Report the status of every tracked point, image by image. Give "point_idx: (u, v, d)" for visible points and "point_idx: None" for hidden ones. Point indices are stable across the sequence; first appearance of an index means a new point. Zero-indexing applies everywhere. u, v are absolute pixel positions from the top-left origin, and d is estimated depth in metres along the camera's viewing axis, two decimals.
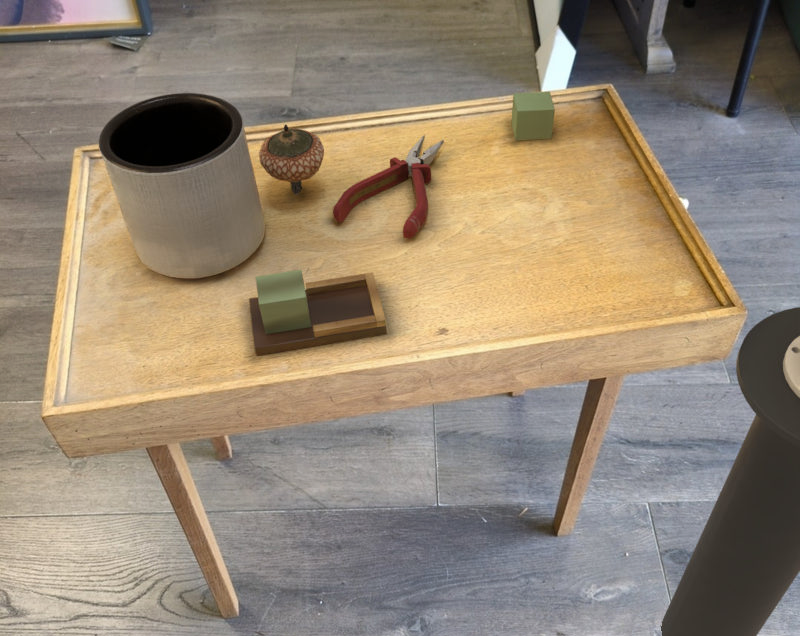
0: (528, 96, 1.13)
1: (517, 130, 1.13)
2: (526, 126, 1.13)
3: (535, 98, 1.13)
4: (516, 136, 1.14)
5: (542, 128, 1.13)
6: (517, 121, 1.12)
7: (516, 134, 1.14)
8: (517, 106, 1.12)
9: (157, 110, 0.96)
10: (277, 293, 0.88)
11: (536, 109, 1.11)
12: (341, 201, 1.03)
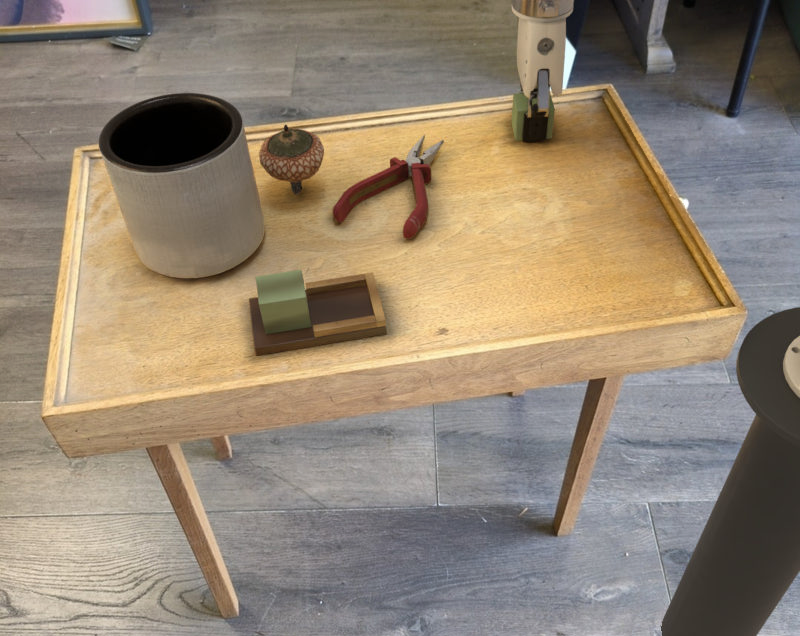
0: None
1: (517, 130, 1.13)
2: None
3: None
4: (516, 136, 1.14)
5: None
6: (517, 121, 1.12)
7: (516, 134, 1.14)
8: (517, 106, 1.12)
9: (157, 110, 0.96)
10: (277, 293, 0.88)
11: None
12: (341, 201, 1.03)
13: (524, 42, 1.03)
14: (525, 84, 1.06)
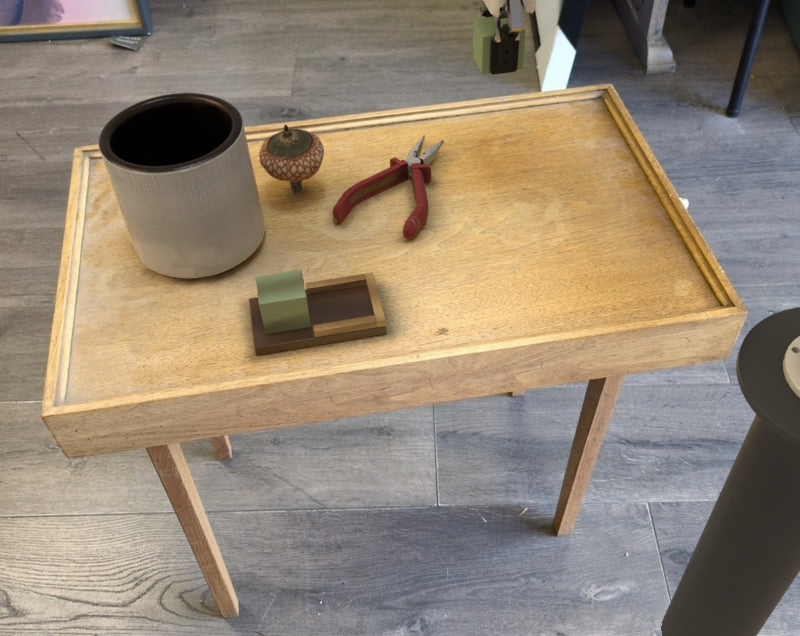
0: (491, 20, 0.96)
1: (483, 61, 0.96)
2: None
3: None
4: (482, 68, 0.97)
5: None
6: (483, 49, 0.95)
7: (482, 66, 0.97)
8: (481, 31, 0.95)
9: (157, 110, 0.96)
10: (277, 293, 0.88)
11: None
12: (341, 201, 1.03)
13: None
14: (492, 0, 0.89)
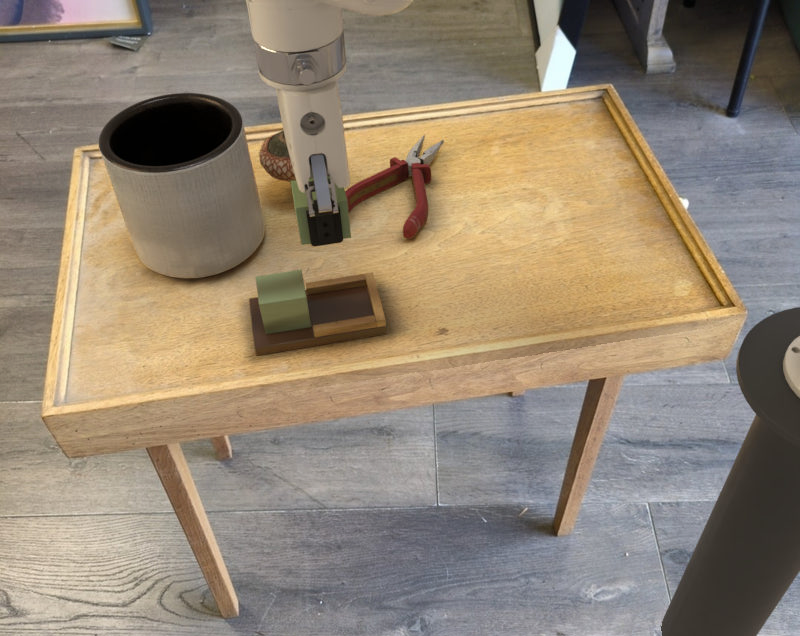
0: None
1: (301, 232, 0.81)
2: None
3: None
4: (301, 239, 0.82)
5: None
6: (298, 221, 0.80)
7: (301, 237, 0.82)
8: (295, 200, 0.80)
9: (157, 110, 0.96)
10: (277, 293, 0.88)
11: None
12: None
13: (283, 119, 0.71)
14: (296, 175, 0.74)
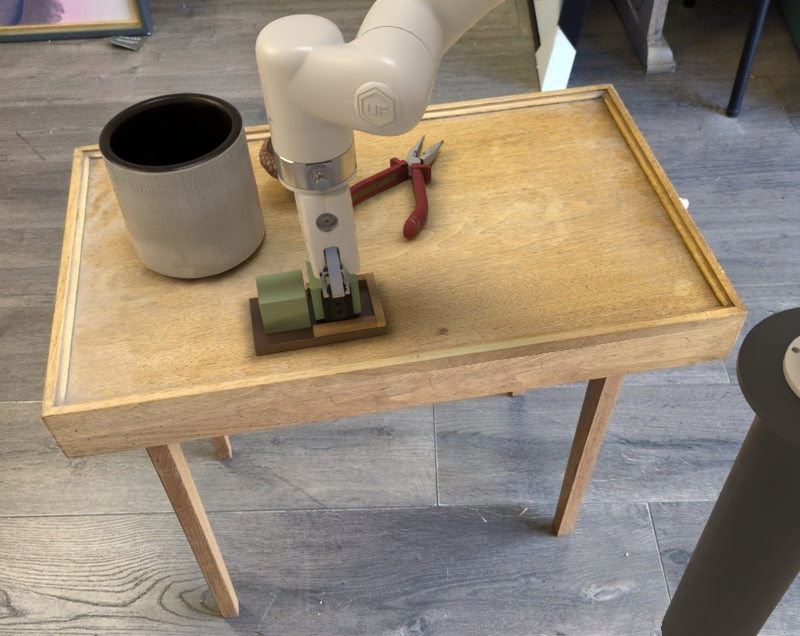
0: None
1: (316, 309, 0.89)
2: None
3: None
4: (316, 315, 0.90)
5: None
6: (313, 299, 0.88)
7: (315, 313, 0.89)
8: (310, 281, 0.87)
9: (157, 110, 0.96)
10: (277, 293, 0.88)
11: None
12: None
13: (300, 216, 0.79)
14: (311, 265, 0.82)
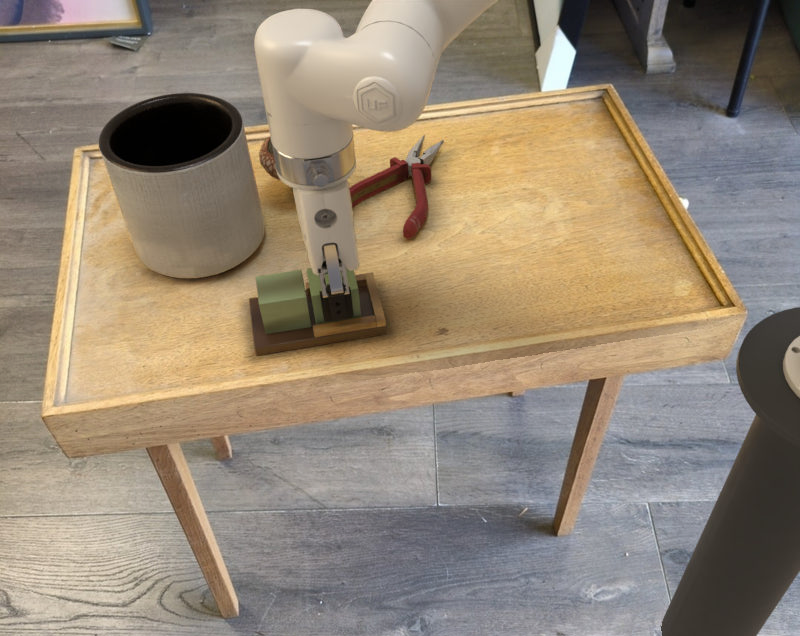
0: None
1: (316, 315, 0.90)
2: None
3: None
4: (316, 321, 0.90)
5: None
6: (314, 306, 0.89)
7: (316, 319, 0.90)
8: (311, 288, 0.88)
9: (157, 110, 0.96)
10: (277, 293, 0.88)
11: None
12: None
13: (299, 212, 0.79)
14: (310, 261, 0.81)
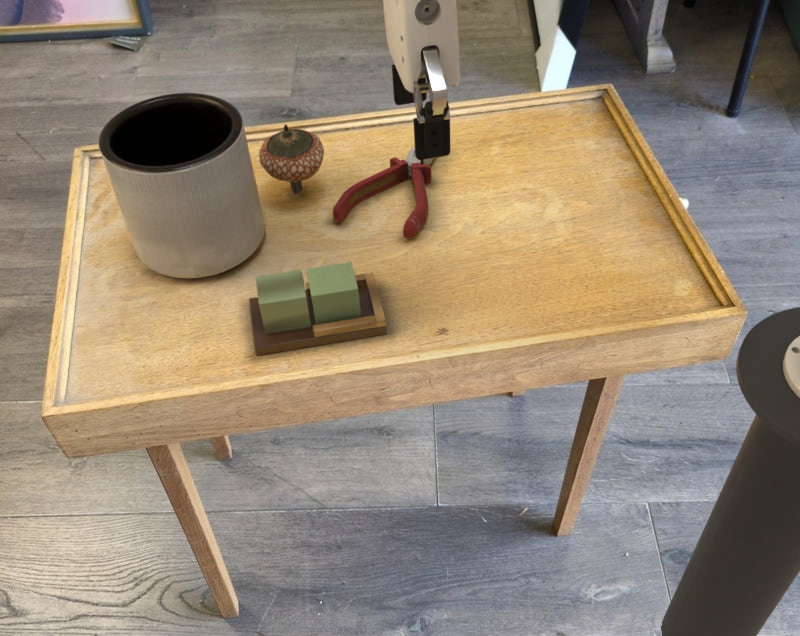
0: (325, 271, 0.90)
1: (316, 315, 0.90)
2: (326, 310, 0.89)
3: (333, 274, 0.89)
4: (316, 321, 0.90)
5: (347, 310, 0.90)
6: (314, 306, 0.89)
7: (316, 319, 0.90)
8: (311, 288, 0.88)
9: (157, 110, 0.96)
10: (277, 293, 0.88)
11: (335, 291, 0.88)
12: (341, 201, 1.03)
13: (394, 9, 0.68)
14: (405, 73, 0.70)
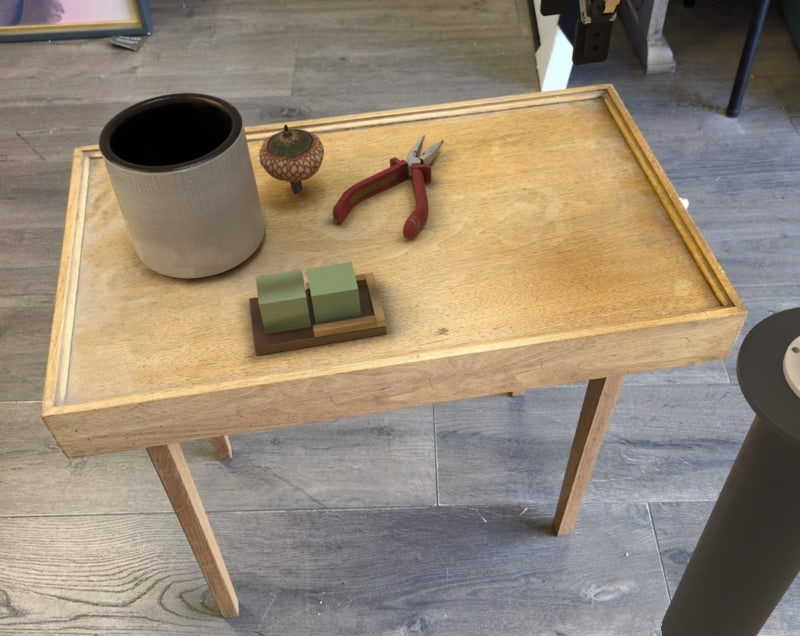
0: (325, 271, 0.90)
1: (316, 315, 0.90)
2: (326, 310, 0.89)
3: (333, 274, 0.89)
4: (316, 321, 0.90)
5: (347, 310, 0.90)
6: (314, 306, 0.89)
7: (316, 319, 0.90)
8: (311, 288, 0.88)
9: (157, 110, 0.96)
10: (277, 293, 0.88)
11: (335, 291, 0.88)
12: (341, 201, 1.03)
13: None
14: None
